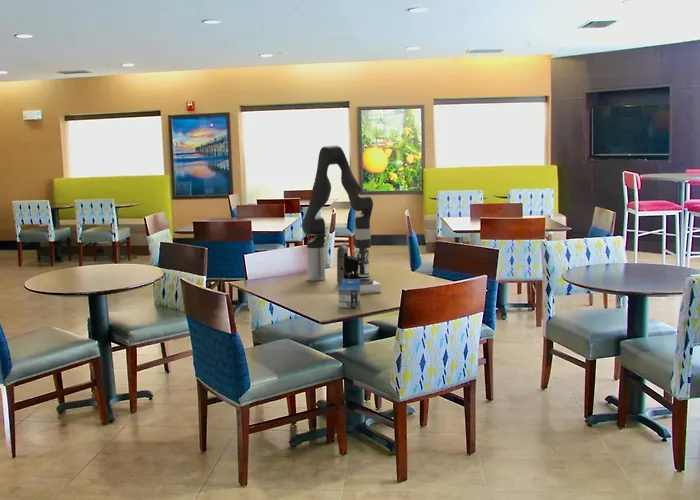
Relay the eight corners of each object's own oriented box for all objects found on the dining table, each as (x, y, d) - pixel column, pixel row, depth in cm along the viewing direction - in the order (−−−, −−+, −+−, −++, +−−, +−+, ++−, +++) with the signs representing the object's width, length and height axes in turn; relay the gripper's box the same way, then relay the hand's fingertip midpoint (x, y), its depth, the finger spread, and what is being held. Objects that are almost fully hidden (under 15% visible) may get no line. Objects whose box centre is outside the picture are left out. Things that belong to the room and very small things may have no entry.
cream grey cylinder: (357, 276, 338) (356, 262, 337) (359, 274, 343) (359, 260, 342) (367, 276, 337) (367, 262, 336) (370, 275, 342) (369, 260, 341)
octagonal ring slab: (344, 291, 343) (344, 279, 342) (374, 288, 347) (374, 277, 346) (349, 294, 334) (349, 283, 334) (380, 292, 338) (380, 280, 338)
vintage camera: (366, 286, 355) (367, 247, 352) (336, 285, 358) (336, 246, 355) (369, 283, 364) (370, 245, 361) (340, 281, 367) (341, 243, 364)
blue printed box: (338, 308, 307) (337, 280, 305) (341, 306, 310) (340, 278, 309) (357, 309, 304) (357, 281, 302) (360, 307, 307) (360, 279, 305)
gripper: (358, 235, 345) (359, 270, 347) (351, 239, 331) (352, 275, 334) (373, 236, 343) (374, 270, 346) (367, 239, 329) (367, 275, 332)
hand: (363, 272), depth 340 cm, fingers closed on cream grey cylinder, 5 cm apart
